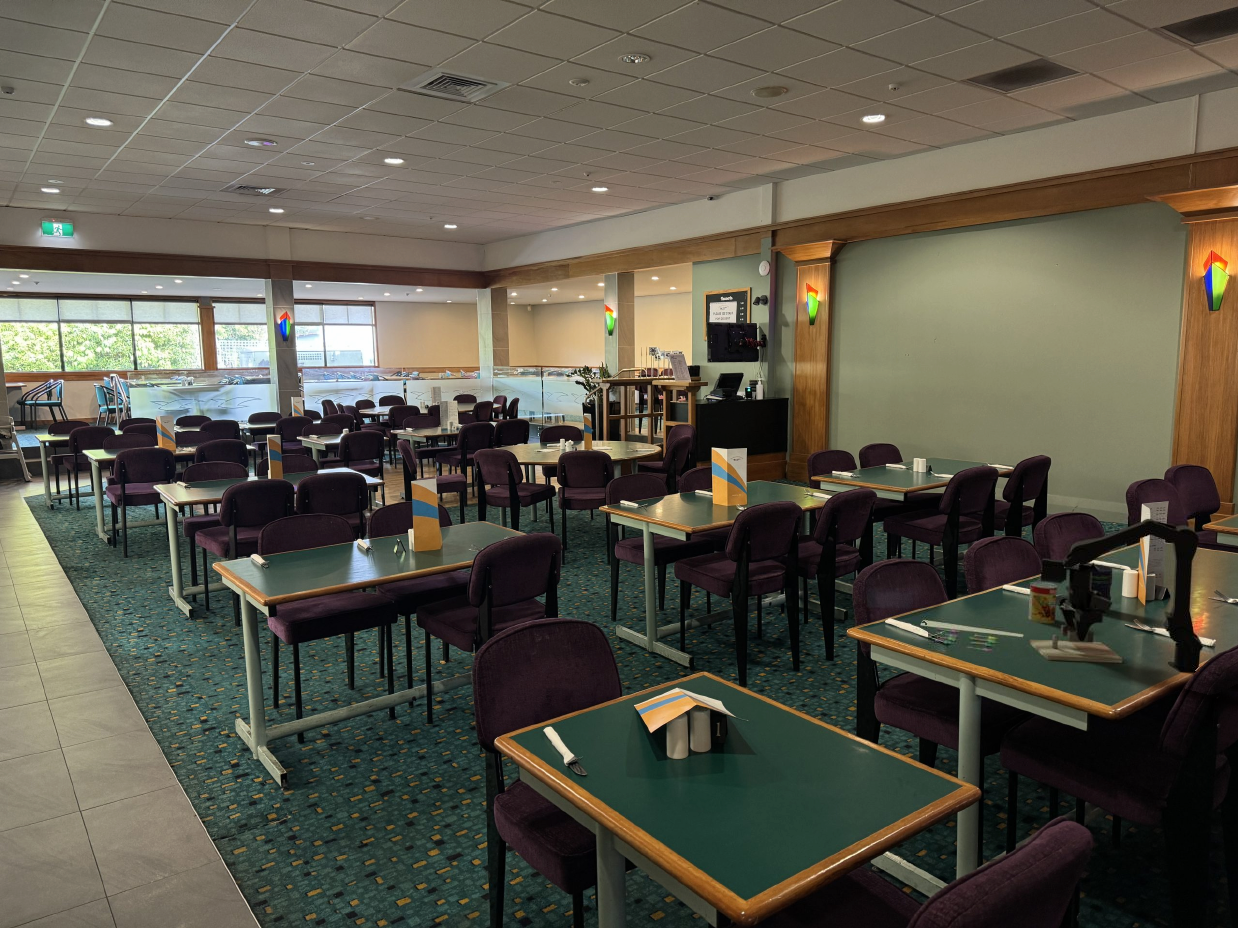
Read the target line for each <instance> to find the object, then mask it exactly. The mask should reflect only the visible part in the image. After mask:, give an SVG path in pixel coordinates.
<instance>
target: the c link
mask: <svg viewBox="0 0 1238 928" xmlns="http://www.w3.org/2000/svg"><path fill="white" fill-rule="evenodd" d="M1060 636H1062V637H1067V638H1066V639H1067V640H1066V641H1069V642H1088V643H1093V642H1094V632H1093V631H1092V630H1091V629H1089V630H1088V633H1087V635H1086V637H1085V639H1084V641H1080V640H1079V638H1078V635H1077V631H1076V628H1075V625H1066V624H1061V625H1060Z"/></svg>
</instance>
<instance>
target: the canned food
mask: <svg viewBox="0 0 1238 928" xmlns="http://www.w3.org/2000/svg"><path fill="white" fill-rule="evenodd" d="M1029 587H1030V588H1029V603H1028V605H1029V606H1028V620H1030V621H1031V622H1035V623H1041V624H1053V623H1056V612H1057V611H1056V609H1057V607H1056V606H1057V605H1056V604H1055V598H1056V597H1057V593H1058V592H1057V589H1058V586H1057V585H1056V583H1052V582H1042V581H1032V582H1030V584H1029Z"/></svg>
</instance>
